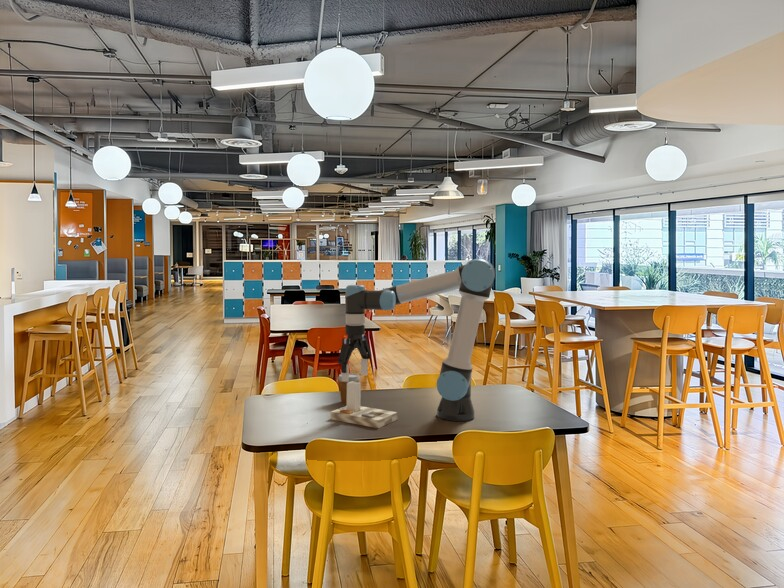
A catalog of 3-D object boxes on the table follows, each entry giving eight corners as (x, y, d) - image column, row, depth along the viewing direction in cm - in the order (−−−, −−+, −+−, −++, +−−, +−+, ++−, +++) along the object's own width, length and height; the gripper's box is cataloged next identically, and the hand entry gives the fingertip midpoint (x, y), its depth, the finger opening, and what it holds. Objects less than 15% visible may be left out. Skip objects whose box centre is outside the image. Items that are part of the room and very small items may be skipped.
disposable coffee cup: (362, 401, 272) (362, 374, 271) (355, 406, 263) (355, 378, 262) (342, 399, 275) (342, 372, 274) (334, 404, 266) (334, 376, 265)
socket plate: (397, 419, 243) (397, 410, 243) (378, 428, 231) (379, 418, 231) (350, 411, 254) (350, 402, 254) (330, 419, 242) (330, 409, 242)
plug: (360, 417, 246) (360, 382, 245) (354, 419, 242) (355, 384, 241) (351, 415, 248) (352, 381, 247) (346, 417, 244) (346, 382, 243)
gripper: (364, 320, 255) (363, 371, 257) (328, 327, 234) (328, 382, 235) (379, 321, 251) (379, 373, 253) (345, 328, 230) (345, 384, 231)
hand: (354, 378), depth 244 cm, fingers open, 13 cm apart
